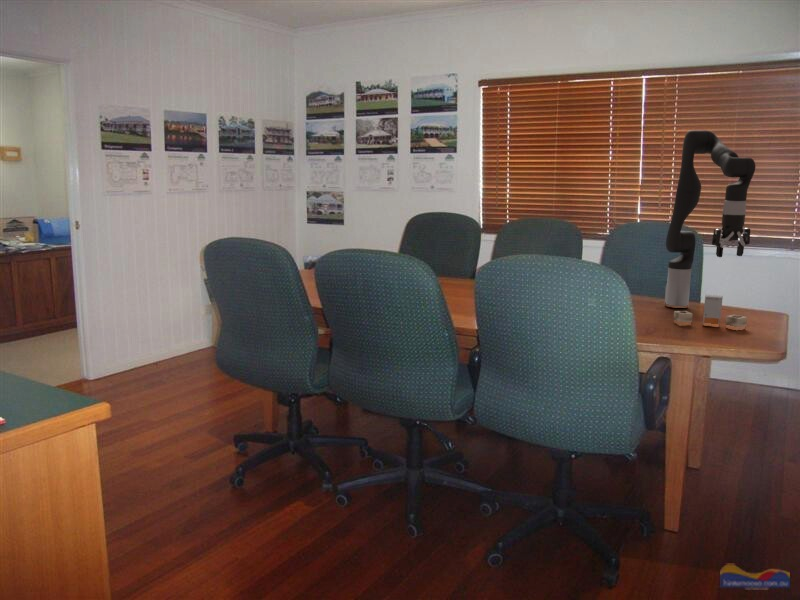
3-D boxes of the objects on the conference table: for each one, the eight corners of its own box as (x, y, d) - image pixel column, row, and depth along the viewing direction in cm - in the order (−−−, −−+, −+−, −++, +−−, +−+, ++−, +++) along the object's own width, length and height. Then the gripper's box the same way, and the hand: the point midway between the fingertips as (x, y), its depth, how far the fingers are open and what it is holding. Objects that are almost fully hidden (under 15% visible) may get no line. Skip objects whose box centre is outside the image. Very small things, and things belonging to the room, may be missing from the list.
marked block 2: (725, 328, 254) (726, 315, 253) (734, 327, 256) (735, 313, 255) (736, 331, 250) (738, 318, 248) (745, 330, 252) (747, 316, 251)
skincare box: (702, 326, 257) (704, 296, 254) (702, 324, 261) (705, 294, 258) (719, 328, 254) (722, 297, 252) (720, 326, 258) (722, 295, 255)
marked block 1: (673, 323, 263) (674, 310, 262) (685, 323, 263) (686, 310, 262) (678, 326, 258) (679, 313, 257) (691, 326, 258) (692, 313, 257)
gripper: (743, 211, 251) (738, 254, 255) (710, 212, 248) (705, 255, 252) (758, 213, 244) (752, 257, 248) (724, 214, 241) (719, 258, 244)
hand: (729, 256), depth 250 cm, fingers open, 8 cm apart
